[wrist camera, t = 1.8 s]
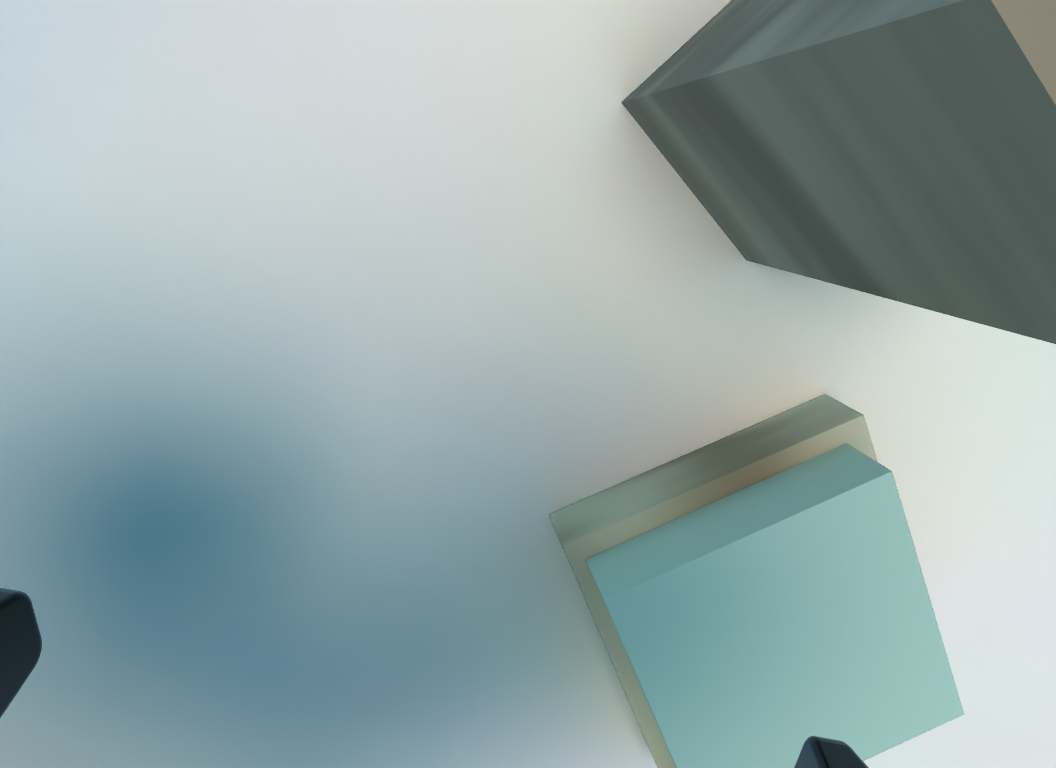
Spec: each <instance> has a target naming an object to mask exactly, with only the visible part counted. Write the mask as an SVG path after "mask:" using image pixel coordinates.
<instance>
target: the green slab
mask: <svg viewBox="0 0 1056 768" xmlns="http://www.w3.org/2000/svg"><path fill="white" fill-rule="evenodd" d="M586 562H587V564H588V566H589V569H590V571H591V573H592V576H593V578H594V580H595V582H596V585H597V587H598V589H599V592H600V594H601V596H602V599H603V601H604V603H605V606H606V608H607V610H608V612H609V615H610V617H611V619H612V622H613V624H614V626H615V629H616V631H617V633H618V636H619V638H620V640H621V643H622V645H623V647H624V649H625V652H626V654H627V656H628V659H629V661H630V663H631V666H632V668H633V670H634V673H635V675H636V677H637V679H638V682H639V684H640V686H641V689H642V691H643V693H644V696H645V698H646V700H647V703H648V705H649V707H650V710H651V712H652V714H653V716H654V719H655V721H656V723H657V726H658V728H659V730H660V733H661V735H662V737H663V740H664V742H665V744H666V746H667V749H668V751H669V753H670V756H671V758H672V760H673V763H674V765H675V767H676V768H794V767H795V764H796V762H797V759H798V757H799V754H800V752H801V749H802V747H803V744H804V742H805V741H806V739H807V738H808V737H810V736H818V737H823V738H829V739H834V740H839V741H843V742H845V743H846V744H847V745H849V746H850V747H851V748H852V749H853V750H854V752H855V753H856V754H857V755H858V756H859V757H860V758H861V760H862V761H864V760H866V759H868V758H871V757H873V756H875V755H877V754H879V753H881V752H884V751H886V750H888V749H890V748H892V747H894V746H897V745H899V744H901V743H903V742H905V741H907V740H910V739H912V738H914V737H916V736H918V735H920V734H923V733H925V732H927V731H929V730H931V729H933V728H936V727H938V726H940V725H942V724H944V723H946V722H949V721H951V720H953V719H955V718H957V717H959V716H962V715H964V712H963V708H962V705H961V702H960V698H959V695H958V691H957V688H956V685H955V681H954V678H953V675H952V671H951V668H950V665H949V661H948V658H947V655H946V651H945V648H944V644H943V641H942V638H941V634H940V631H939V628H938V624H937V621H936V618H935V614H934V611H933V608H932V604H931V601H930V597H929V594H928V591H927V587H926V584H925V581H924V577H923V574H922V571H921V567H920V564H919V561H918V557H917V554H916V550H915V547H914V544H913V540H912V537H911V534H910V530H909V527H908V524H907V520H906V517H905V514H904V510H903V507H902V503H901V500H900V497H899V493H898V490H897V487H896V483H895V480H894V477H893V473H892V471H891V470H889V469H888V468H886V467H884V466H883V465H881V464H879V463H878V462H876V461H875V460H873V459H871V458H870V457H868V456H867V455H865V454H863V453H862V452H860V451H859V450H857V449H855V448H854V447H852V446H851V445H849V444H847V443H846V444H843V445H841V446H839V447H837V448H834V449H832V450H830V451H828V452H825V453H823V454H821V455H819V456H816V457H814V458H812V459H810V460H807V461H805V462H803V463H801V464H798V465H796V466H794V467H792V468H790V469H787V470H785V471H783V472H781V473H778V474H776V475H774V476H772V477H769V478H767V479H765V480H763V481H760V482H758V483H756V484H754V485H751V486H749V487H747V488H745V489H742V490H740V491H738V492H736V493H734V494H731V495H729V496H727V497H725V498H722V499H720V500H718V501H716V502H713V503H711V504H709V505H707V506H704V507H702V508H700V509H698V510H695V511H693V512H691V513H689V514H686V515H684V516H682V517H680V518H678V519H675V520H673V521H671V522H669V523H666V524H664V525H662V526H660V527H657V528H655V529H653V530H651V531H648V532H646V533H644V534H642V535H639V536H637V537H635V538H633V539H630V540H628V541H626V542H624V543H622V544H619V545H617V546H615V547H613V548H610V549H608V550H606V551H604V552H601V553H599V554H597V555H595V556H592V557H590V558H588V559H586Z"/></svg>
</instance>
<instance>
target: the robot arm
mask: <svg viewBox="0 0 1056 768" xmlns="http://www.w3.org/2000/svg"><path fill="white" fill-rule="evenodd" d="M41 648H42V639H41V635H40V631H39V628H38V624H37V621H36V617H35V613H34V610H33V606H32V602H31V600H30V598H29V596H28V595H27V594H26V593H23V592H21V591H16V590H10V589H4V588H0V718H1V716H2V715H3V713H4V712H5V710H6V709H7V707H8V706H9V704H10V703H11V701H12V700H13V698H14V697H15V695H16V694H17V692H18V691H19V689H20V688H21V687H22V685H23V684H24V682H25V681H26V679H27V678H28V676H29V675H30V673H31V672H32V670H33V669H34V667H35V665H36V664H37V661H38V659H39V657H40V653H41ZM794 768H868V766H867V765H866V764H865V763H864V762H863V761H862V760H861V758H860V757H859V756H858V755H857V754H856V753H855V752H854V750H853V749H852V748H851V747H850V746H849V745H847V744H846V743H845V742H843V741H839V740H834V739H829V738H823V737H818V736H810V737H808V738H807V739H806V741H805V742H804V744H803V747H802V749H801V752H800V754H799V757H798V759H797V762H796V764H795V767H794Z"/></svg>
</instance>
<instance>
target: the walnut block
mask: <svg viewBox="0 0 1056 768" xmlns="http://www.w3.org/2000/svg"><path fill="white" fill-rule="evenodd" d="M622 104H623V105H624V106H625V107H626V109H627V110H628V111H629V112H630V114H631V115H632V116H633V117H634V119H635V120H636V121H637V122H638V124H639V125H640V126H641V128H642V129H643V130H644V131H645V133H646V134H647V135H648V136H649V138H650V139H651V140H652V141H653V143H654V144H655V145H656V146H657V148H658V149H659V150H660V152H661V153H662V154H663V155H664V157H665V158H666V159H667V160H668V162H669V163H670V164H671V165H672V167H673V168H674V169H675V170H676V172H677V173H678V174H679V176H680V177H681V178H682V179H683V181H684V182H685V183H686V184H687V186H688V187H689V188H690V189H691V191H692V192H693V193H694V194H695V196H696V197H697V198H698V200H699V201H700V202H701V203H702V205H703V206H704V207H705V208H706V210H707V211H708V212H709V213H710V215H711V216H712V217H713V218H714V220H715V221H716V222H717V224H718V225H719V226H720V227H721V229H722V230H723V231H724V232H725V234H726V235H727V236H728V237H729V239H730V240H731V241H732V242H733V244H734V245H735V246H736V248H737V249H738V250H739V251H740V253H741V254H742V255H743V256H744V258H745V259H746V260H748V261H752V262H755V263H759V264H763V265H766V266H770V267H774V268H777V269H781V270H785V271H789V272H792V273H796V274H800V275H803V276H807V277H811V278H814V279H818V280H822V281H825V282H829V283H833V284H836V285H840V286H844V287H848V288H851V289H855V290H859V291H862V292H866V293H870V294H873V295H877V296H881V297H884V298H888V299H892V300H895V301H899V302H903V303H907V304H910V305H914V306H918V307H921V308H925V309H929V310H932V311H936V312H940V313H943V314H947V315H951V316H954V317H958V318H962V319H965V320H969V321H973V322H977V323H980V324H984V325H988V326H991V327H995V328H999V329H1002V330H1006V331H1010V332H1013V333H1017V334H1021V335H1024V336H1028V337H1032V338H1036V339H1039V340H1043V341H1047V342H1050V343H1054V344H1056V0H732V1H731V2H730V3H729V4H727V5H726V6H725V7H724V8H723V9H722V10H721V11H720V12H719V13H718V14H717V15H716V16H714V17H713V18H712V19H711V20H710V21H709V22H708V23H707V24H706V25H705V26H704V27H703V28H702V29H700V30H699V31H698V32H697V33H696V34H695V35H694V36H693V37H692V38H691V39H690V40H689V41H687V42H686V43H685V44H684V45H683V46H682V47H681V48H680V49H679V50H678V51H677V52H676V53H674V54H673V55H672V56H671V57H670V58H669V59H668V60H667V61H666V62H665V63H664V64H663V65H662V66H660V67H659V68H658V69H657V70H656V71H655V72H654V73H653V74H652V75H651V76H650V77H649V78H647V79H646V80H645V81H644V82H643V83H642V84H641V85H640V86H639V87H638V88H637V89H636V90H634V91H633V92H632V93H631V94H630V95H629V96H628V97H627V98H626V99H625V100H624V101H623V102H622Z"/></svg>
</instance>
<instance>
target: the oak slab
mask: <svg viewBox="0 0 1056 768" xmlns="http://www.w3.org/2000/svg"><path fill="white" fill-rule="evenodd" d="M846 443H847V444H849V445H851V446H852V447H854V448H855V449H857V450H859V451H860V452H862V453H863V454H865V455H867V456H868V457H870V458H871V459H873V460H875V461H876V462H877V459H876V455H875V452H874V449H873V445H872V442H871V439H870V435H869V432H868V428H867V425H866V422H865V418H864V415H863V414H861V413H859V412H857V411H855V410H854V409H852V408H850V407H848V406H846V405H844V404H842V403H841V402H839V401H837V400H835V399H833V398H831V397H829V396H828V395H826V394H824V395H822V396H819V397H817V398H815V399H812V400H810V401H808V402H806V403H803V404H801V405H799V406H796V407H794V408H792V409H789V410H787V411H785V412H783V413H780V414H778V415H776V416H773V417H771V418H769V419H766V420H764V421H762V422H760V423H757V424H755V425H753V426H750V427H748V428H746V429H743V430H741V431H739V432H737V433H734V434H732V435H730V436H727V437H725V438H723V439H720V440H718V441H716V442H714V443H711V444H709V445H707V446H704V447H702V448H700V449H698V450H695V451H693V452H691V453H688V454H686V455H684V456H681V457H679V458H677V459H675V460H672V461H670V462H668V463H665V464H663V465H661V466H658V467H656V468H654V469H652V470H649V471H647V472H645V473H642V474H640V475H638V476H635V477H633V478H631V479H629V480H626V481H624V482H622V483H619V484H617V485H615V486H613V487H610V488H608V489H606V490H603V491H601V492H599V493H596V494H594V495H592V496H590V497H587V498H585V499H583V500H580V501H578V502H576V503H573V504H571V505H569V506H567V507H564V508H562V509H560V510H557V511H555V512H553V513H550V514H549V516H550V518H551V521H552V523H553V525H554V528H555V530H556V532H557V535H558V537H559V540H560V542H561V544H562V547H563V549H564V551H565V554H566V556H567V558H568V561H569V563H570V565H571V568H572V570H573V572H574V575H575V577H576V579H577V582H578V584H579V586H580V589H581V591H582V593H583V595H584V598H585V600H586V602H587V605H588V607H589V609H590V612H591V614H592V616H593V619H594V621H595V623H596V626H597V628H598V630H599V633H600V635H601V637H602V640H603V642H604V644H605V647H606V649H607V651H608V654H609V656H610V658H611V660H612V663H613V665H614V667H615V670H616V672H617V674H618V677H619V679H620V681H621V684H622V686H623V688H624V691H625V693H626V695H627V698H628V700H629V702H630V705H631V707H632V709H633V712H634V714H635V716H636V719H637V721H638V723H639V725H640V728H641V730H642V732H643V735H644V737H645V739H646V742H647V744H648V746H649V749H650V751H651V753H652V756H653V758H654V760H655V763H656V765H657V767H658V768H676V767H675V765H674V763H673V760H672V758H671V756H670V753H669V751H668V749H667V746H666V744H665V742H664V740H663V737H662V735H661V733H660V730H659V728H658V726H657V723H656V721H655V719H654V716H653V714H652V712H651V710H650V707H649V705H648V703H647V700H646V698H645V696H644V693H643V691H642V689H641V686H640V684H639V682H638V679H637V677H636V675H635V673H634V670H633V668H632V666H631V663H630V661H629V659H628V656H627V654H626V652H625V649H624V647H623V645H622V643H621V640H620V638H619V636H618V633H617V631H616V629H615V626H614V624H613V622H612V619H611V617H610V615H609V612H608V610H607V608H606V606H605V603H604V601H603V599H602V596H601V594H600V592H599V589H598V587H597V585H596V582H595V580H594V578H593V576H592V573H591V571H590V569H589V566H588V564H587V562H586V559H588V558H590V557H592V556H595V555H597V554H599V553H601V552H604V551H606V550H608V549H610V548H613V547H615V546H617V545H619V544H622V543H624V542H626V541H628V540H630V539H633V538H635V537H637V536H639V535H642V534H644V533H646V532H648V531H651V530H653V529H655V528H657V527H660V526H662V525H664V524H666V523H669V522H671V521H673V520H675V519H678V518H680V517H682V516H684V515H686V514H689V513H691V512H693V511H695V510H698V509H700V508H702V507H704V506H707V505H709V504H711V503H713V502H716V501H718V500H720V499H722V498H725V497H727V496H729V495H731V494H734V493H736V492H738V491H740V490H742V489H745V488H747V487H749V486H751V485H754V484H756V483H758V482H760V481H763V480H765V479H767V478H769V477H772V476H774V475H776V474H778V473H781V472H783V471H785V470H787V469H790V468H792V467H794V466H796V465H798V464H801V463H803V462H805V461H807V460H810V459H812V458H814V457H816V456H819V455H821V454H823V453H825V452H828V451H830V450H832V449H834V448H837V447H839V446H841V445H843V444H846Z"/></svg>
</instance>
